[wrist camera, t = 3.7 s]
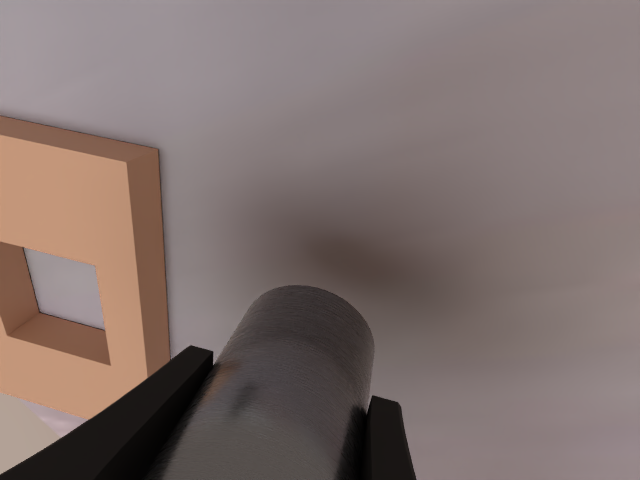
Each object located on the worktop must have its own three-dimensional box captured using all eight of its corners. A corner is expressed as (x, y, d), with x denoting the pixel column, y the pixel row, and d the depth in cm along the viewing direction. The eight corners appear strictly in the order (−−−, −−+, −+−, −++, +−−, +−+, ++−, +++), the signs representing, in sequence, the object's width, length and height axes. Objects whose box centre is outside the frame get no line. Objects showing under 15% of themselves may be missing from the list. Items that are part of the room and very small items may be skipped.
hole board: (173, 410, 23) (153, 439, 22) (27, 366, 25) (-3, 391, 23) (158, 149, 16) (126, 162, 14) (-52, 105, 17) (-105, 111, 15)
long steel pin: (360, 405, 12) (308, 761, 6) (240, 372, 13) (82, 671, 7) (388, 304, 10) (353, 671, 4) (247, 270, 11) (35, 556, 5)
